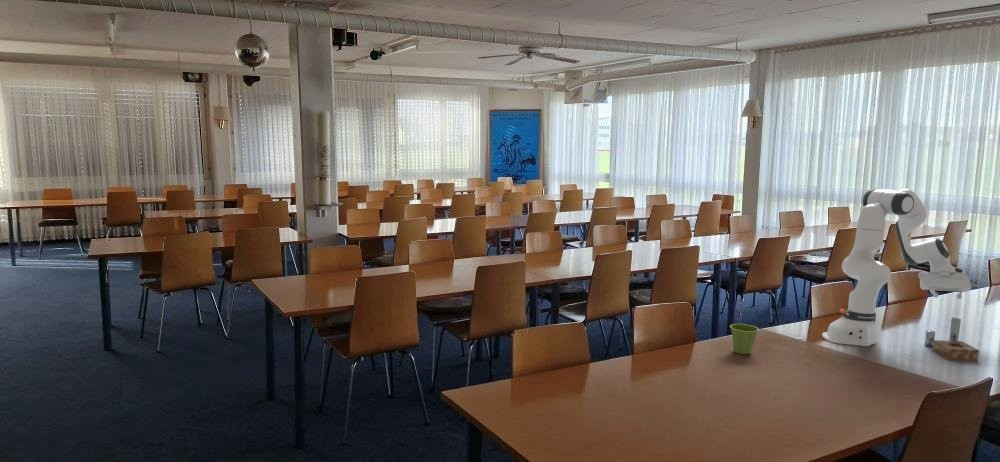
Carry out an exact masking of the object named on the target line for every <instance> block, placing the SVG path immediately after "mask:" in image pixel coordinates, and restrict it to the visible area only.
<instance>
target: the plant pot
mask: <svg viewBox="0 0 1000 462" xmlns="http://www.w3.org/2000/svg"><path fill="white" fill-rule="evenodd" d="M729 327H730V331H731V335H732V347H733V349H732V350H733V352H734V353H736V354H738V355H742V354H744V355H751V354H752V351H753V347H754V343H755V339H756V336H757V334H758V332H759V331H760V328H758V327H757V326H755V325H750V324H747V323H746V324H745V323H734V324H733V323H732V324H730V325H729Z"/></svg>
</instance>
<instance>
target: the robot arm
mask: <svg viewBox="0 0 1000 462" xmlns="http://www.w3.org/2000/svg"><path fill="white" fill-rule="evenodd" d="M917 195H918V194H916V193H915V192H914V191H913V190H912V189H911V188H900V189H899V190H894V189H886V188H872V189H871V188H870V189H868V190H867V191H866V192H865V194H863V198H862V206H863V207H861V209H860V212H859V215H858V219H857V225H856V233H855V239H854V244H853V247H852V248H851V252H849V254H848V256H847V257H845V258H844V259H843V260H842V262H841V263H842V264H841V270H842V271H843V273H844V274H846V275H847V276H848V277H849V278H852V279H854V280H857V284H856V287H854V289H852V290H851V291H850V292H849V296H848V297H849V298H848V308H847V309H844V308H840V309H839V312H840V313H841V314H842V315H843V316H841V317H840V318H838V319H836V320H834V321H833V322H831V323H829V326H828V328H827V332H825V331H824V332H822V334H821V337H822V338H823V339H825V340H826V341H828V342H830V343H833V344H839V345H840V344H841V345H842V344H843V345H851V346H852V345H853V346H862V347H870V346H871V345H875V344H876V343H877V341H876V335H875V323H876V320H877V312H876V307H877V299H878V296H879V293H880V291H881V288H882V287H883V286H884V285H885V284H887V283H888V282H890V279H891V276H892V271H891V268H890V267H889V266H888V265H886V264H885V263H883V262H881V261H879V260H875V259H874V257H875V255H876V253H877V251H878V250H880V249H882V247H883V244H884V237H885V228H886V216H887V215H895V216H897V217H898V220H897V221H896V222H895V227H894V228H895V232H896V236H897V239H898V243H899V246H900V250H901V258H902V260H903V261H904V263H905V264H907V265H908V266H917V265H919V264H923V263H929V269H930V270H929V271H920V272H919V273H918V274H917V275H918V276H917V277H918V279H919V287H920V289H921V290H923V291H926V290H927V291H929V292H930V294H932V296H933V298H937V299H938V298H939V292H936V291H943V292H944V291H946V292H957V294H956V299H958V300H961V299H962V298H963V296H962V294H963V293H968V292H969V291H970V290H971V288H972V284H971V281H970V278H969V277H968V275H966V270H965V269H962V268H959V267H956V266H954V265H953V266H952V263H951V262H950V261H951V257H950V251H949V250H950V249H949V247H948V244H947V243H946V242H945V241H944V240H942V239H940V238H931V239H927V240H924V241H921V242H916V243H910V240H909V237H908V235H909V233H911V232H912V231H914V230H915V229H917V228H919V227H920V226H921V225H922V224H923V223H924V222H925V221H926V220H927V210H926V208H925V206H924V203H922V200H921V199H920V198H919V196H917Z"/></svg>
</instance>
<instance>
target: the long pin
mask: <svg viewBox="0 0 1000 462" xmlns="http://www.w3.org/2000/svg"><path fill="white" fill-rule="evenodd" d="M961 323H962V319H961V318H958V317H951V321H950V329H949V336H948V341H959V339H960V330H961Z"/></svg>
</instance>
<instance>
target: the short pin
mask: <svg viewBox="0 0 1000 462" xmlns="http://www.w3.org/2000/svg"><path fill="white" fill-rule="evenodd" d="M924 337H925V338H924V346H925V347H926V348H933V343H934V340H936V331H934V330H930V329H929V330H927V329H926V331H925V336H924Z"/></svg>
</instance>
